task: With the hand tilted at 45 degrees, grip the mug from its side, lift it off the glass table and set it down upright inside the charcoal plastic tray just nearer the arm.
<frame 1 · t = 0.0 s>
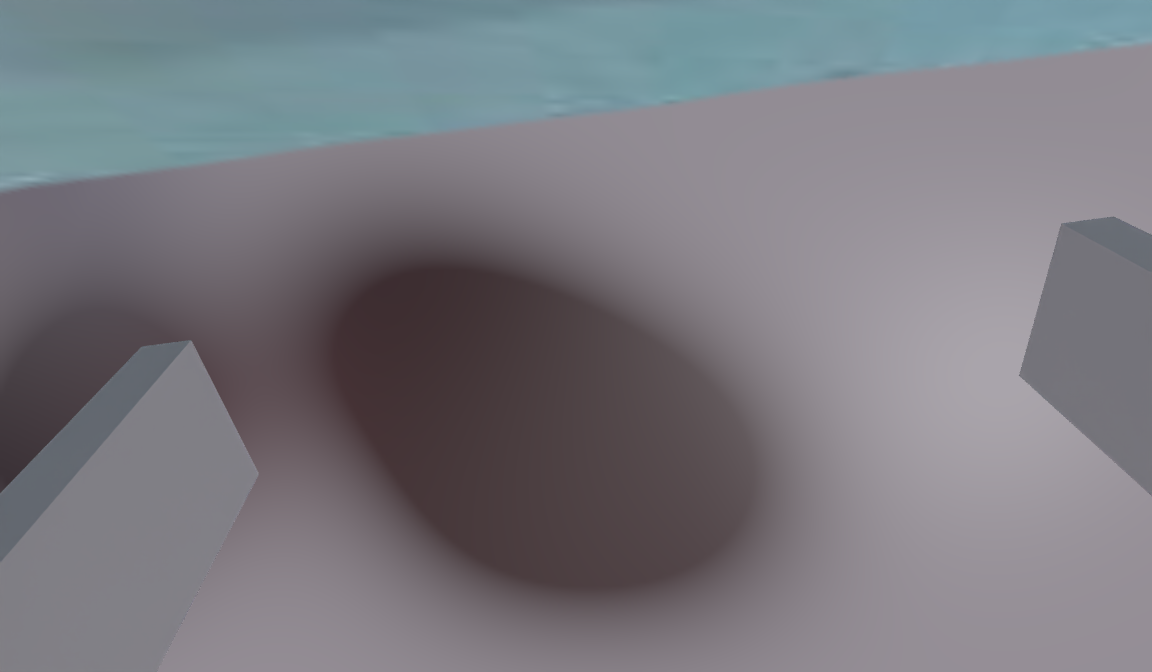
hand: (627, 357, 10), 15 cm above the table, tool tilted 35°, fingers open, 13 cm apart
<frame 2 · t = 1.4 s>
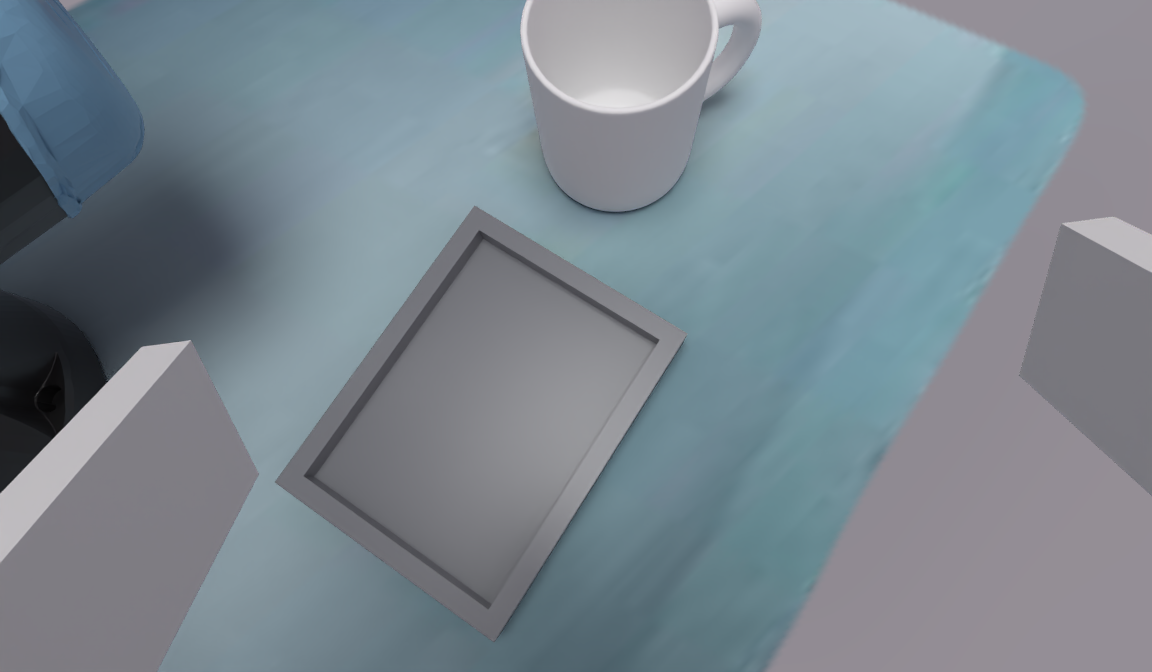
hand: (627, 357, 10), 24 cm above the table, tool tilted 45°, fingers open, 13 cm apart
mug: (645, 137, 38), on the table
tray: (490, 411, 34), on the table
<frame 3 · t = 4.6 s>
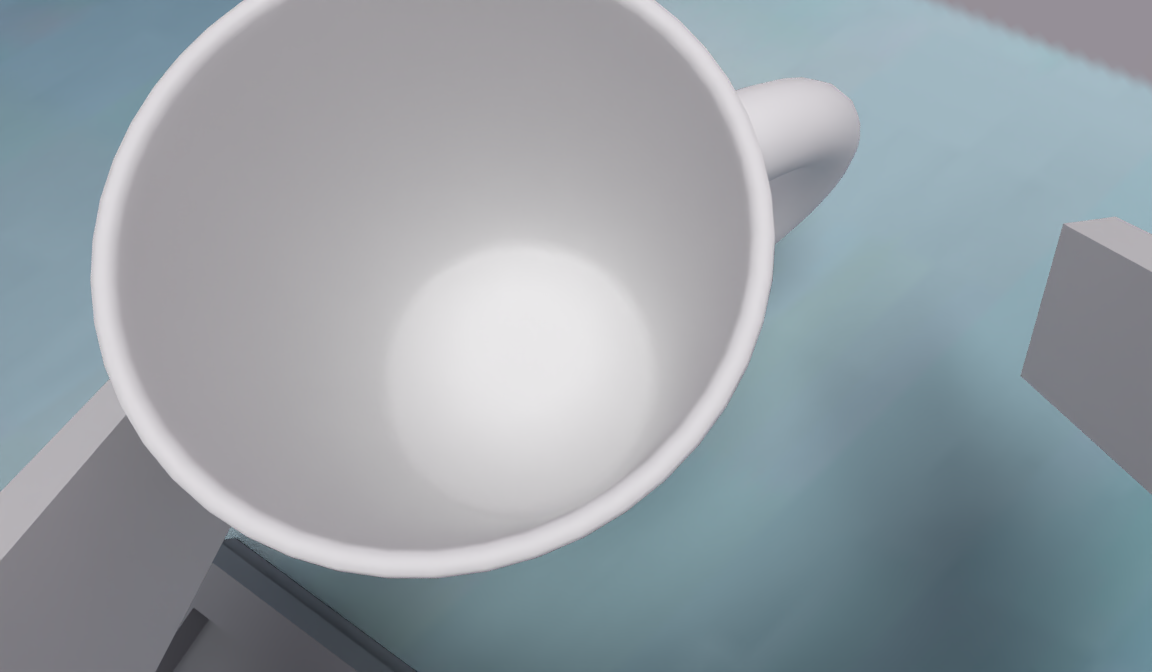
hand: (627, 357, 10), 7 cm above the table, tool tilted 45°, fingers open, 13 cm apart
mug: (581, 345, 18), on the table, touching gripper
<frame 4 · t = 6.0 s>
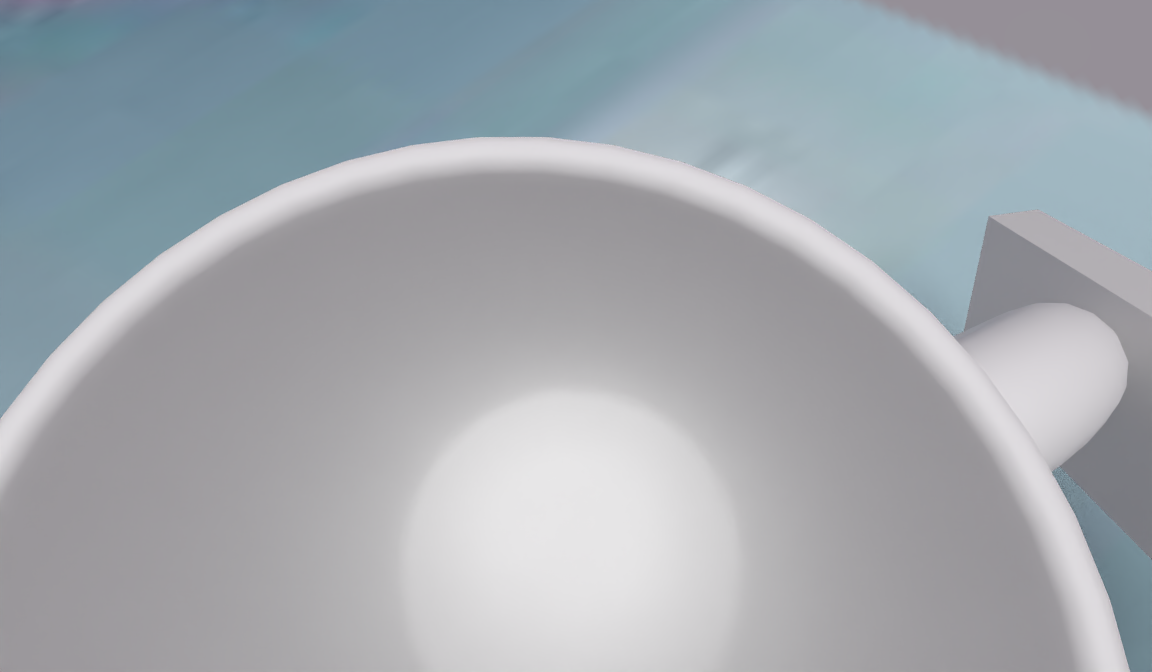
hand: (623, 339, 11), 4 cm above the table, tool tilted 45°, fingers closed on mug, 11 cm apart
mug: (647, 520, 15), on the table, touching gripper
when the fingers open (6 cm above the table, at t = 12.0 s): mug stays where it is, resting on tray.
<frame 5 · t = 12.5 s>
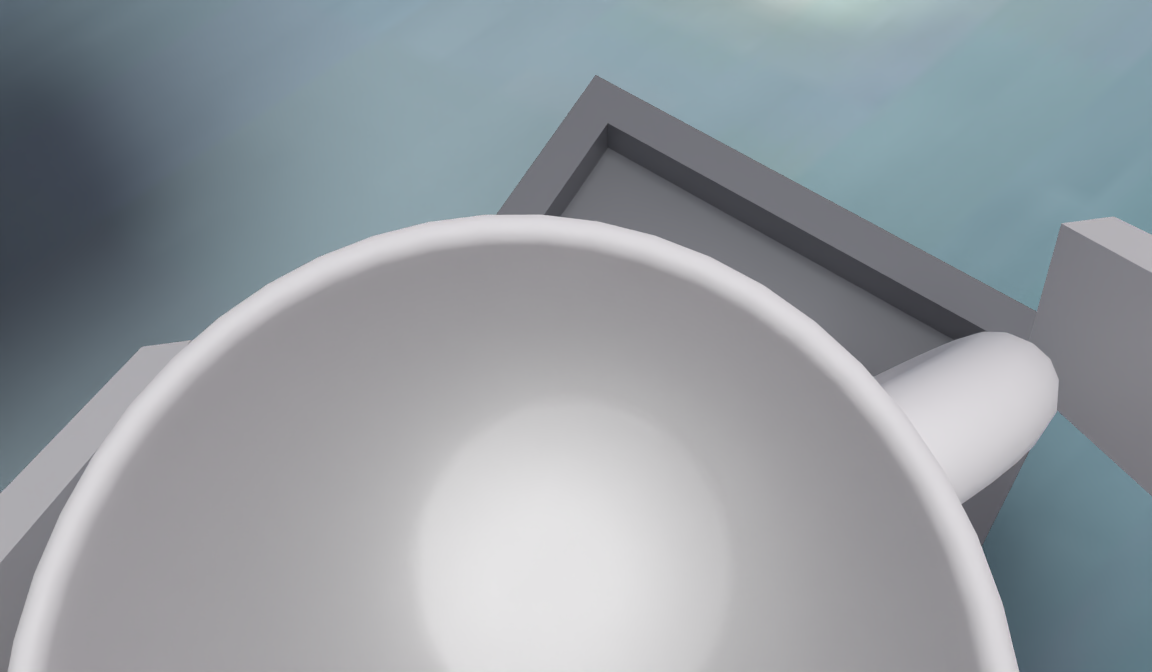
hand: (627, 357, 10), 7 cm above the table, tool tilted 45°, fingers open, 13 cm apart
mug: (644, 520, 16), point 1 cm above the table, touching tray
tray: (634, 502, 16), on the table
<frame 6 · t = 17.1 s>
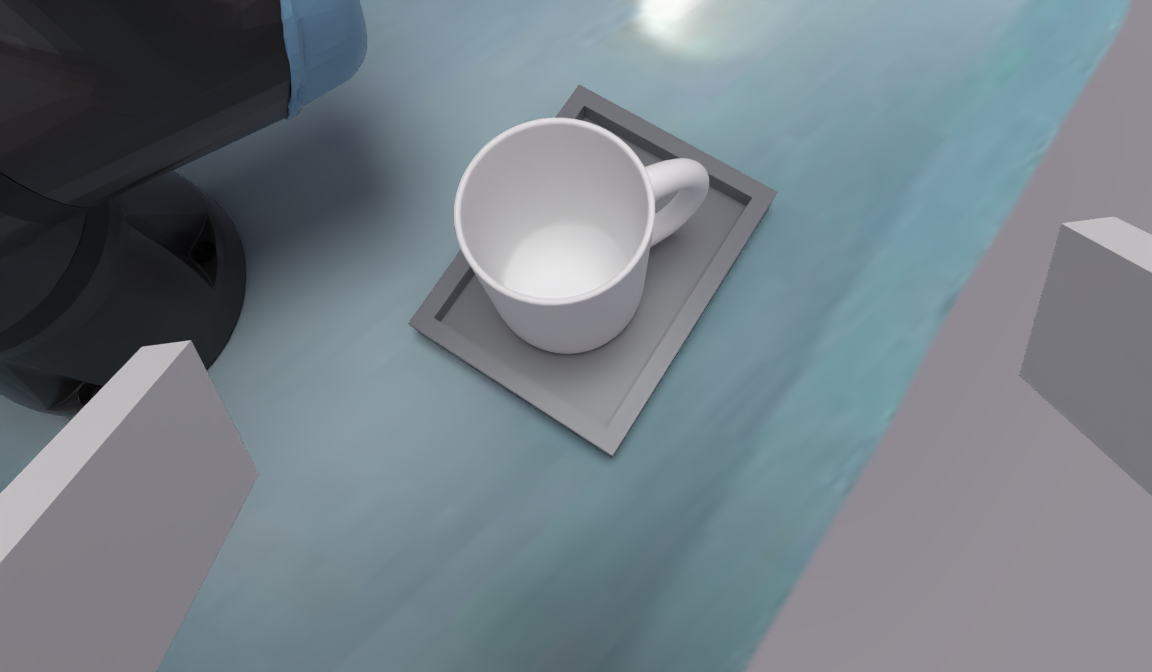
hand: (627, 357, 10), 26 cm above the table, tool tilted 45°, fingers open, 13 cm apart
mug: (599, 272, 37), point 1 cm above the table, touching tray
tray: (595, 269, 38), on the table
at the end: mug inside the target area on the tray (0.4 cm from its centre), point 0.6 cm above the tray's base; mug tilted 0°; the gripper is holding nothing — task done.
